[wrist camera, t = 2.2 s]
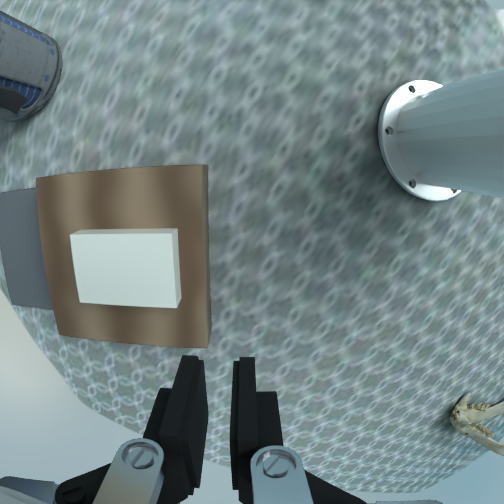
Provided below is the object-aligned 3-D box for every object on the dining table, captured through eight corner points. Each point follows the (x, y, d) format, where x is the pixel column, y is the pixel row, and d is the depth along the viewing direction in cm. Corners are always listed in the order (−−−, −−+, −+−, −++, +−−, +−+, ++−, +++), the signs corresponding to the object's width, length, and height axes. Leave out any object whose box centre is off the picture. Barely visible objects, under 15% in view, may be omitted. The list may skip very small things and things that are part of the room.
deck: (207, 165, 27) (201, 164, 23) (211, 327, 31) (207, 348, 27) (58, 175, 27) (35, 177, 23) (75, 318, 31) (59, 335, 27)
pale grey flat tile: (177, 228, 24) (172, 233, 22) (181, 298, 26) (176, 308, 24) (81, 229, 24) (69, 234, 22) (89, 293, 26) (79, 302, 24)
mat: (55, 185, 27) (53, 185, 26) (71, 310, 30) (70, 311, 30) (-4, 193, 27) (-6, 193, 26) (13, 303, 30) (12, 304, 30)
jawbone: (434, 472, 30) (487, 447, 23) (434, 379, 44) (474, 347, 38) (507, 480, 28) (549, 458, 22) (502, 408, 42) (536, 383, 36)
